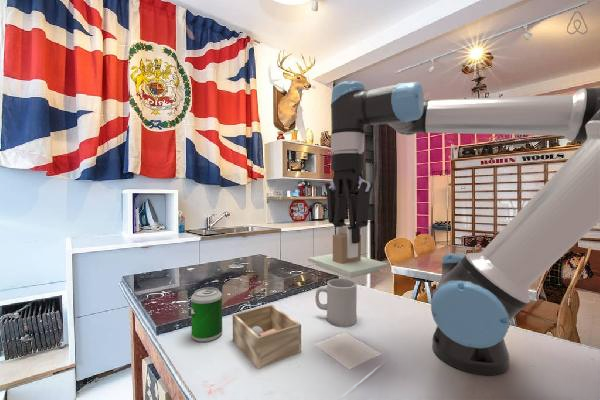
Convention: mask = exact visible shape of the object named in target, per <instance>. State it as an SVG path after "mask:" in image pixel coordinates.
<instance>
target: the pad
mask: <svg viewBox="0 0 600 400" xmlns="http://www.w3.org/2000/svg"><path fill="white" fill-rule="evenodd" d="M314 345H315V346H316V347H318V349H320V350H321V351H322V352H324V353H326V354H327V355H328V356H330V357H331V358H333V359H334V360H335V361H337V362H338V363H339V364H341V365H342V366H344V367H345V368H346V369H348V370H351V369H353V368H355V367H357V366H358V367H359V365H362V364H363V363H365V362H368V361H370V360H372V359H374V358H376V357H377V356H380V355H381V352H379V351H377V350H376V349H373V348H372V347H370V346H368V345H367V344H365V343H363V342H362V341H360V340H358V339H356V338H355V337H353V336H351V335H350V334H348V333H346V332H342V333H339V334H336V335H334V336H332V337H328V338H327V339H324V340H322V341H321V340H320V341H318V342H316V343H314Z"/></svg>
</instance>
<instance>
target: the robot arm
mask: <svg viewBox="0 0 600 400" xmlns="http://www.w3.org/2000/svg"><path fill="white" fill-rule="evenodd" d="M365 88H366V87H365V84H363V83H362V82H360V81H358V80H352V81H349V80H347V81H342V82H339V83H337V84H336V85H334V87H332V91H331V102H330V103H331V104H330V113H331V116H330V117H331V132H330V133H331V135H330V152H331V154H332V155H331V156H330V170H331V171H332V172H333V177H332V181H330V182H325V185H324V187H325V190H326V197H327V198H326V201H327V215H328V216H327V217H328V223H329V224H333V227H334V235H339V234H347V258H354V257H358V243H359V242H360V235H361V229H362V228H365V227H367V226H368V224H369V223H368V221H369V214H370V211H369V210H370V199H371V198H370V197H371V192H372V189H373V186H374V184H373V182H372V181H367V180H365V179H364V176H363V173H362V172H363V171H364V170H365V155H364V152H365V131H366V130H365V128H366V126H375V125H376V126H378V125H388V126H389V127H391V128H392V129H394V131H396V132H397V133H398V134H401V135H405V136H413V135H415V134H424V133H425V134H468V135H469V134H471V135H472V134H474V135H475V134H476V135H514V136H515V135H519V136H521V135H523V136H524V135H525V136H527V135H529V136H563V137H564V138H565V139H567V141H569V142H582V144H581V145H580V146H579V147H578V149H576V151H574V153H572V155H571V156H570V157H569V158H568V159H567V160H566V161H565V162H564V163H563V164H562V166H561V167H559V169H557V171H556V172H555V173H554V174H553V175H552V176H551V177H550V178H549V179H548V180H547V181H546V183H545V184H543V186H542V187H540V189H539V190H538V191H537V192H536V193H535V194H534V195H533V196H532V198H530V199H529V201H528V202H527V203H526V204H525V205H524V206H523V207H522V208H521V209H520V210H519V211H518V212H517V213H516V215H515V216H513V217H512V218H511V220H510V221H509V222H508V223H507V224H506V225H505V226H504V227H503V229H501V230H500V232H499V233H498V234H497V235H496V236H495V237H494V238H493V239H492V240H491V241H490V242H489V243H488V244H487V246H485V247H484V248H483V250H482V251H480V252H469V253H468V252H467V253H464V254H462V253H446V254H444V255H442V259H441V260H442V261H441V263H440V266H441V278H440V280H439V282H438V284H437V286H436V288H435V290H434V291H433V292H432V295H431V297H430V304H431V305H430V310H431V316H432V318H433V321H434V323H435V324H436V328H435V330H434V333H433V336H432V341H431V342H432V351H433V352H434V355H435V356H437V357H438V359H440V360H441V361H442V362H445V363H446V364H448V365H449V366H452V367H453V368H456V369H458V370H461V371H463V372H467V373H471V374H475V375H482V376H497V375H502V374H504V373H506V372H507V371H508V370H509V368H510V353H509V351H508V348H507V344H506V342H505V340H504V338H505V337H506V335H507V333H508V331H509V329H510V321H511V320H512V319H513V318H514V317H515V316H516V315H518V313H520V311H521V310H523V309H524V308H525V307H526V306H527V305H528V304H529V303H530V302H531V296H530V287H531V286H532V285H533V284H534V283H535V282H536V281H537V280H538V279H539V278H541V277H542V275H544V274H545V273H546V272H547V271H548V270H549V269H550V268H551V267H552V266H553V265H554V264H555V263H556V262H558V260H560V259H561V258H562V257H563V256H564V255H565V254H566V253H567V252H568V251H569V250H570V249H572V247H573V246H575V245H576V244H577V243H578V242H579V241H580V240H581V239H582V238H583V237H584V236H585V235H587V234H588V233H589V231H591V230H592V229H593V228H594V227H595V226H596V225H597V224H598V223H599V222H600V87H588V88H587V87H586V88H584V87H583V88H580V89H579V90H577V91H576V92H574V93H571V94H554V95H553V94H552V95H551V94H550V95H529V96H505V97H504V96H503V97H502V96H501V97H500V96H499V97H479V98H474V97H473V98H450V99H447V98H446V99H429V100H428V99H427V100H425V97H424V91H423V87H422V84H421V83H420V82H419V81H411V82H400V83H397V84H393V85H388V86H382V87H376V88H373V89H372V88H370V89H365ZM347 209H348V220H349V222H348V223H349V226H347V223H346V222H345V221H346V213H347Z"/></svg>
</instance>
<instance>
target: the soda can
mask: <svg viewBox="0 0 600 400" xmlns="http://www.w3.org/2000/svg"><path fill="white" fill-rule="evenodd" d="M190 313H191V316H190V317H191V318H190V319H191V320H190V321H191V338H192V339H193V341H196V342H200V343H207V342H208V343H209V342H211V341H214V340H217V339H218V338H220V337H221V335H222V333H223V293H222V292H221V291H220V290H219V288H216V287H202V288H200V289H197V290H195V291H194V292H193V294H192V295H191V297H190Z"/></svg>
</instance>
